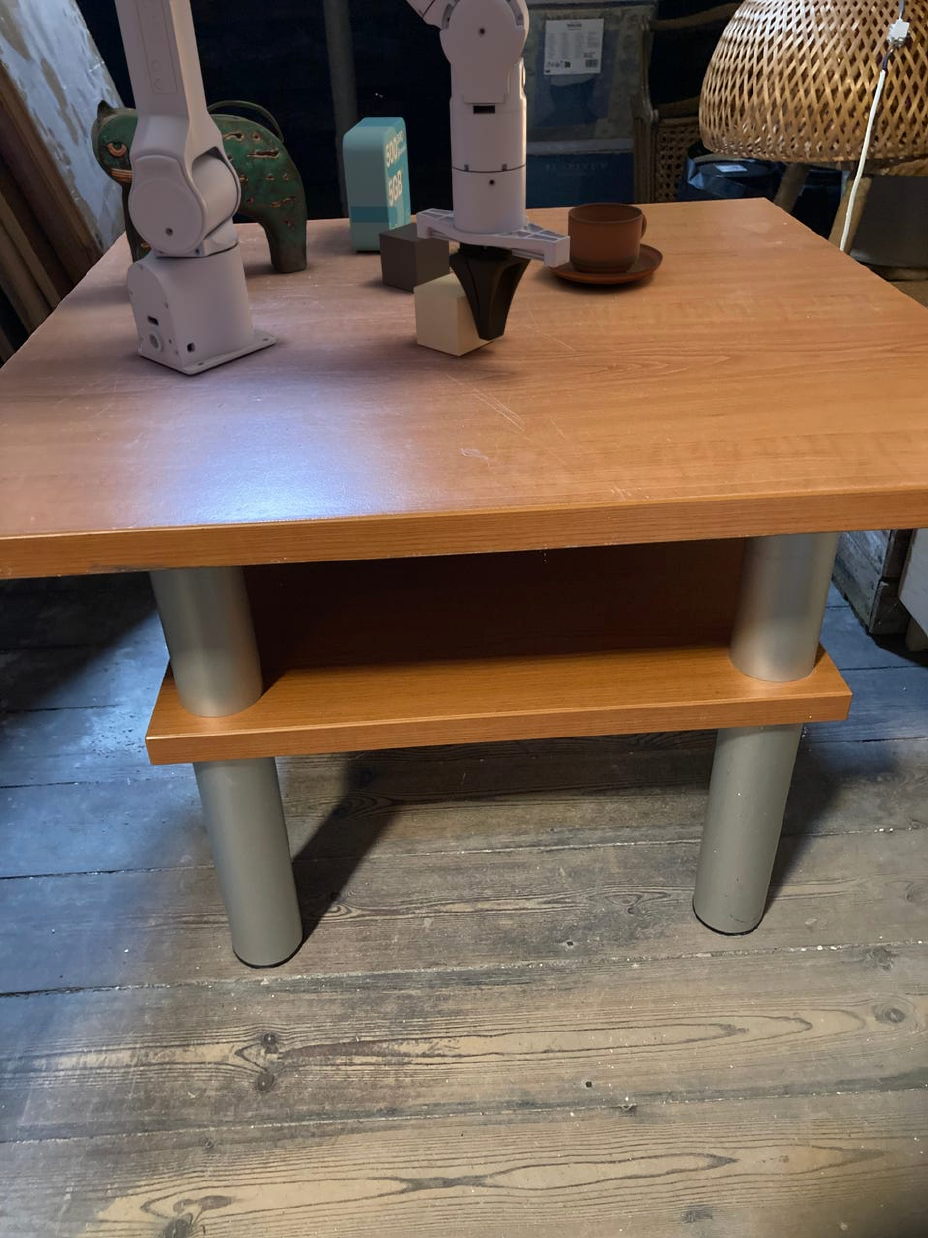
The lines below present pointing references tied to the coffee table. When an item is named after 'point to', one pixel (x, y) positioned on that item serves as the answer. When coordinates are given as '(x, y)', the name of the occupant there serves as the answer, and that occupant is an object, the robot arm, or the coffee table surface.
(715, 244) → the coffee table surface
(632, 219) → the cup and saucer
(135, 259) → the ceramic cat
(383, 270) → the middle block
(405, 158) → the data package
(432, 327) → the cream block
